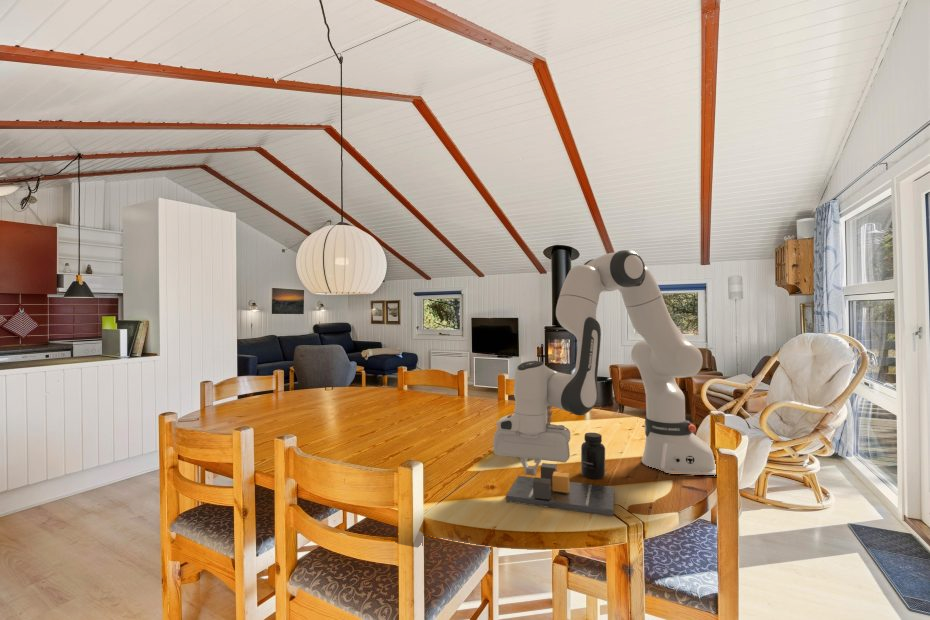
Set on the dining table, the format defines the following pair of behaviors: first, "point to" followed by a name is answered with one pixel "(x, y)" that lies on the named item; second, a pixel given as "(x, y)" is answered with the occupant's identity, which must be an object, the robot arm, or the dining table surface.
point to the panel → (566, 497)
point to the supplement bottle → (593, 456)
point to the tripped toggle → (560, 482)
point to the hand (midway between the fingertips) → (530, 474)
